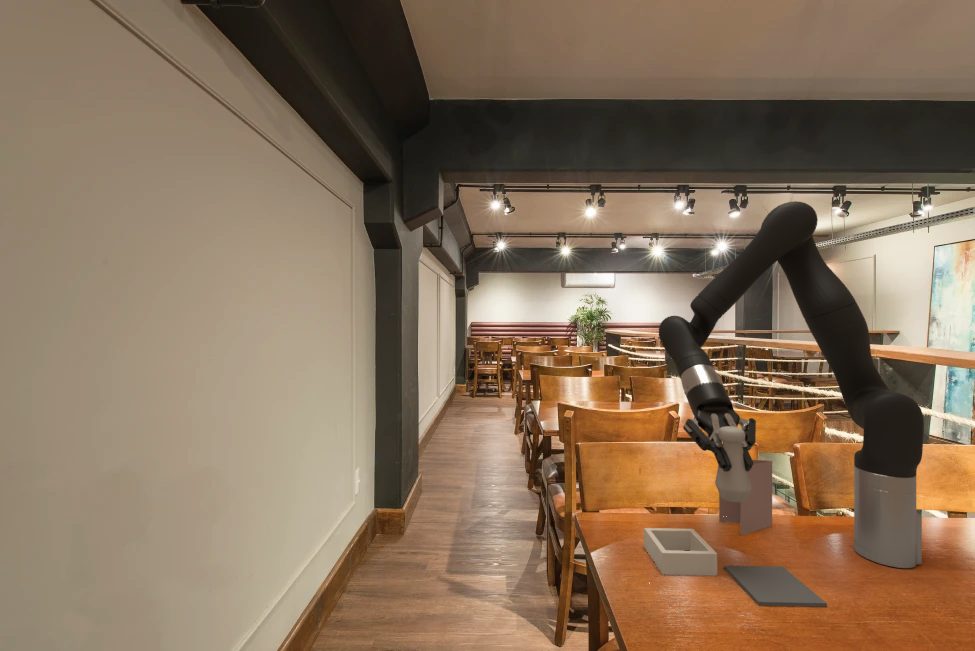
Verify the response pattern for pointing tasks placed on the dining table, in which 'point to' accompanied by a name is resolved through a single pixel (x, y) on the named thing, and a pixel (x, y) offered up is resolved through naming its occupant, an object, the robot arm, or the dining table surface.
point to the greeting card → (752, 501)
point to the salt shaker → (733, 467)
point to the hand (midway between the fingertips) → (738, 469)
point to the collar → (680, 552)
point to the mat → (774, 586)
